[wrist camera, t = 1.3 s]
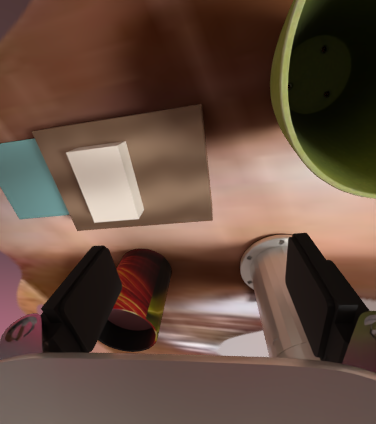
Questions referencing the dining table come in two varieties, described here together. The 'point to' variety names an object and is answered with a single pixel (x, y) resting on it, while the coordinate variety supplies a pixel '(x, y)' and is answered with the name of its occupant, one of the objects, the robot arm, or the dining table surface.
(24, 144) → the mat
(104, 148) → the cream rectangular block
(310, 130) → the flower pot
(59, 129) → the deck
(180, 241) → the dining table surface
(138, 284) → the mug
